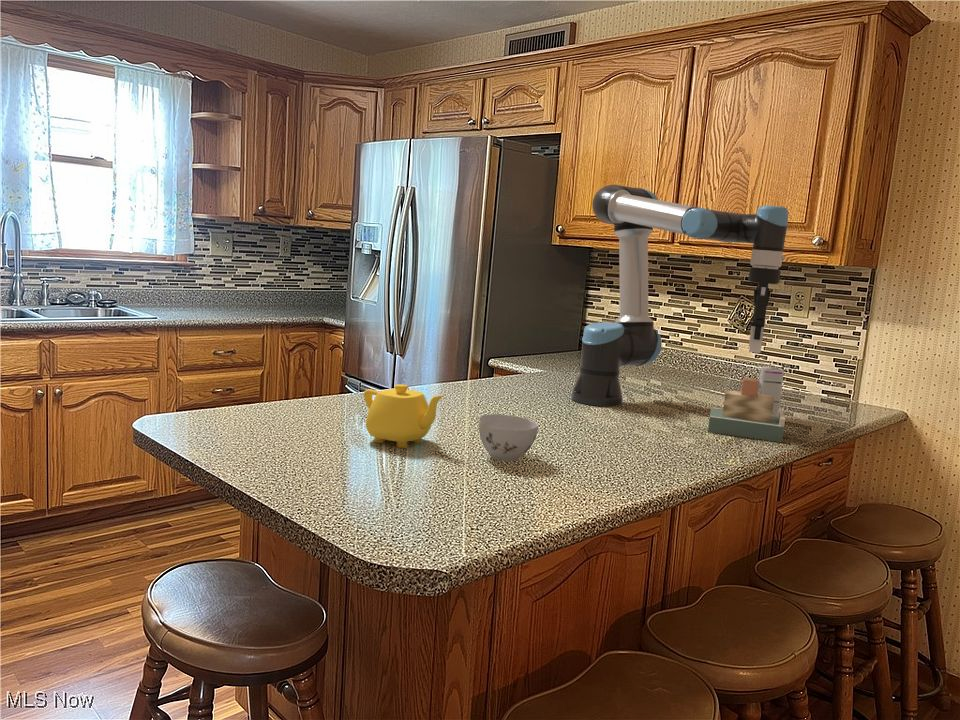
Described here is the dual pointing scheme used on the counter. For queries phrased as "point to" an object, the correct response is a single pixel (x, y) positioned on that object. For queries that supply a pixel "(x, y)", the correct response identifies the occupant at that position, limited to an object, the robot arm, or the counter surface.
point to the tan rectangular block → (748, 406)
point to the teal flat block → (747, 426)
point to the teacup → (507, 435)
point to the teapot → (399, 415)
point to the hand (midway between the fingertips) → (754, 349)
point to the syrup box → (771, 385)
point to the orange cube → (750, 387)
